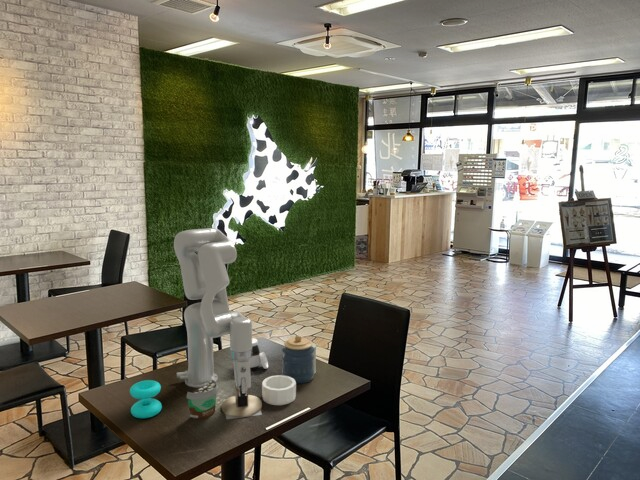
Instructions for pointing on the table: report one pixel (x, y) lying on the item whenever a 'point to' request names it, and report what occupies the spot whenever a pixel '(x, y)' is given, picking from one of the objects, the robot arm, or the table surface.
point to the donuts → (145, 399)
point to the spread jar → (257, 357)
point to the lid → (233, 410)
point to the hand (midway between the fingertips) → (241, 402)
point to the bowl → (278, 390)
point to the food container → (203, 401)
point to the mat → (240, 417)
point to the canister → (298, 359)
